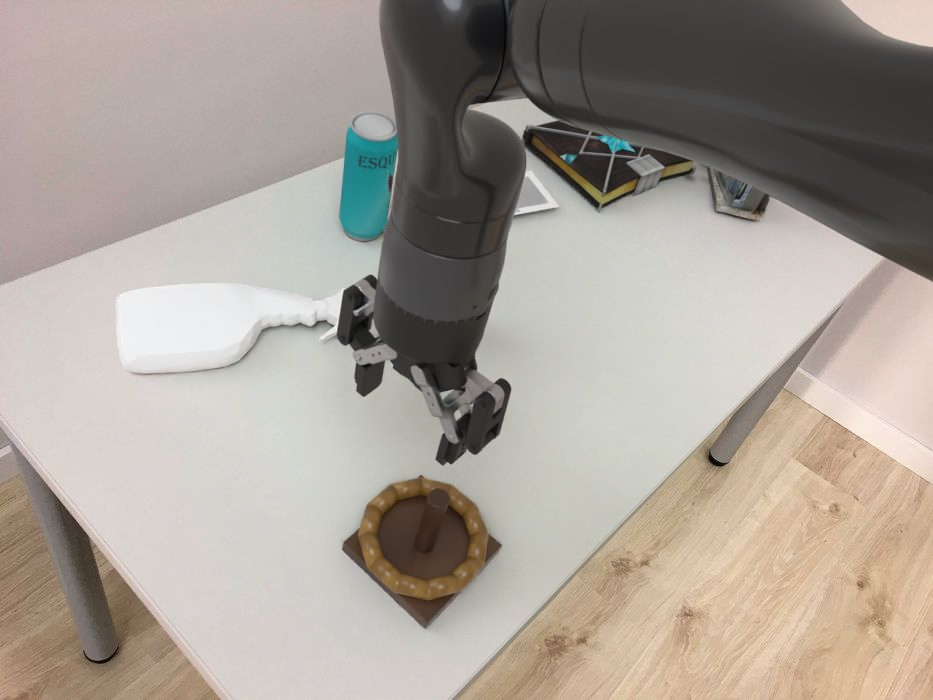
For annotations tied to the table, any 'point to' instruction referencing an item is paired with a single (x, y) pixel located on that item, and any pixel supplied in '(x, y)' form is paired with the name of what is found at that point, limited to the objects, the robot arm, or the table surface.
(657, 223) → the table surface
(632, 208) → the table surface
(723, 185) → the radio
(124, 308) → the spray bottle
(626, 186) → the book
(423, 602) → the peg post
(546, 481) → the table surface
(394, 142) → the beverage can
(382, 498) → the ring
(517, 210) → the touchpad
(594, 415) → the table surface
